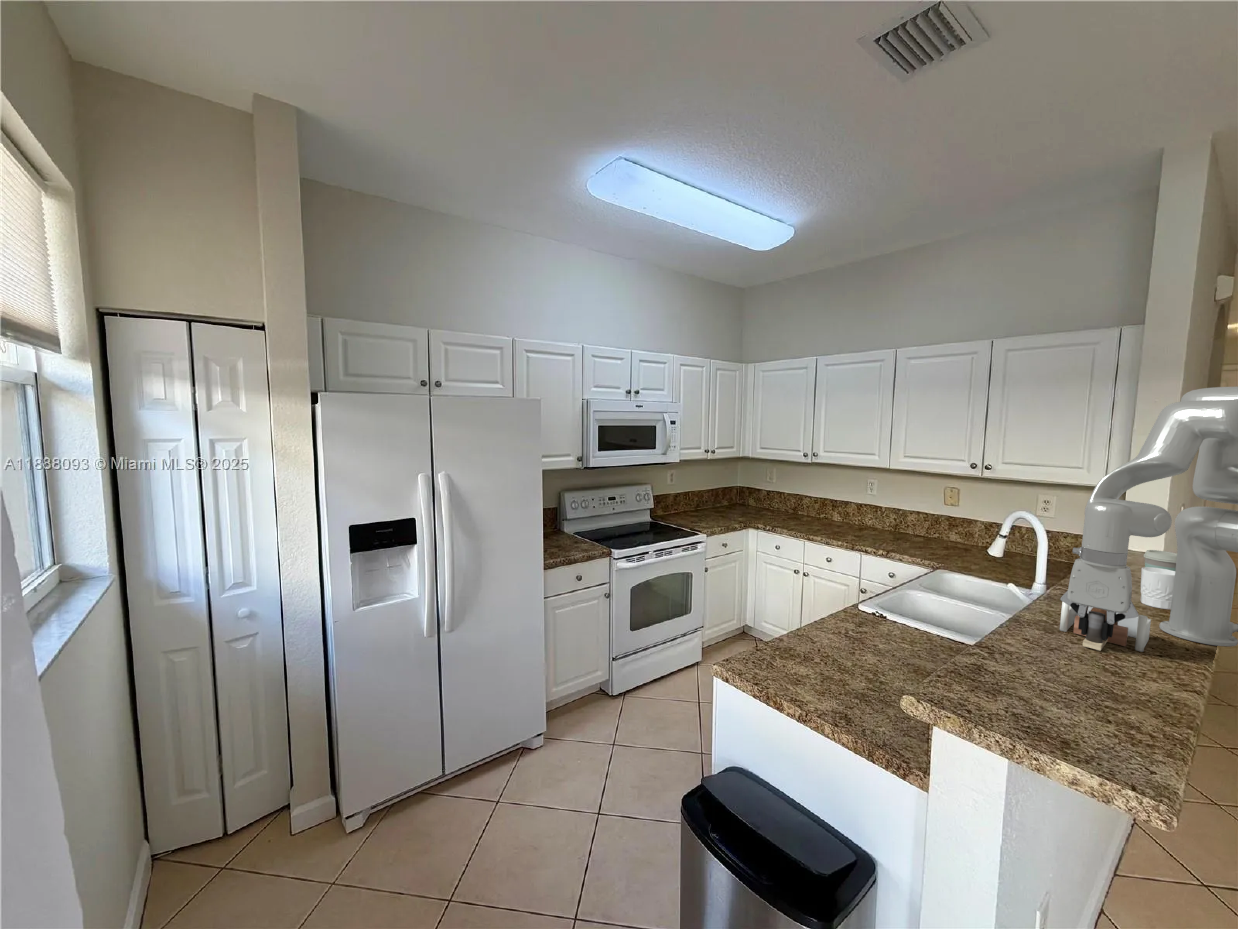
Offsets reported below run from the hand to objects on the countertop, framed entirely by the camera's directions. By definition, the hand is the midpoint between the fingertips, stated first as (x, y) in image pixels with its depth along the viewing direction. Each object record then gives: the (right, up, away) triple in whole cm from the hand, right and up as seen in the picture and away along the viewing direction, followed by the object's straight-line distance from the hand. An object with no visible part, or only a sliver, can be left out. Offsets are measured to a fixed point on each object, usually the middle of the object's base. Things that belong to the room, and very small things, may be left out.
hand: (1094, 635), depth 116 cm
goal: (+9, -2, +7) cm, 12 cm away
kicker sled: (+2, -2, +2) cm, 3 cm away
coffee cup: (+60, -1, +42) cm, 74 cm away
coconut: (+7, -3, +6) cm, 10 cm away
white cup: (+45, -1, +29) cm, 54 cm away
